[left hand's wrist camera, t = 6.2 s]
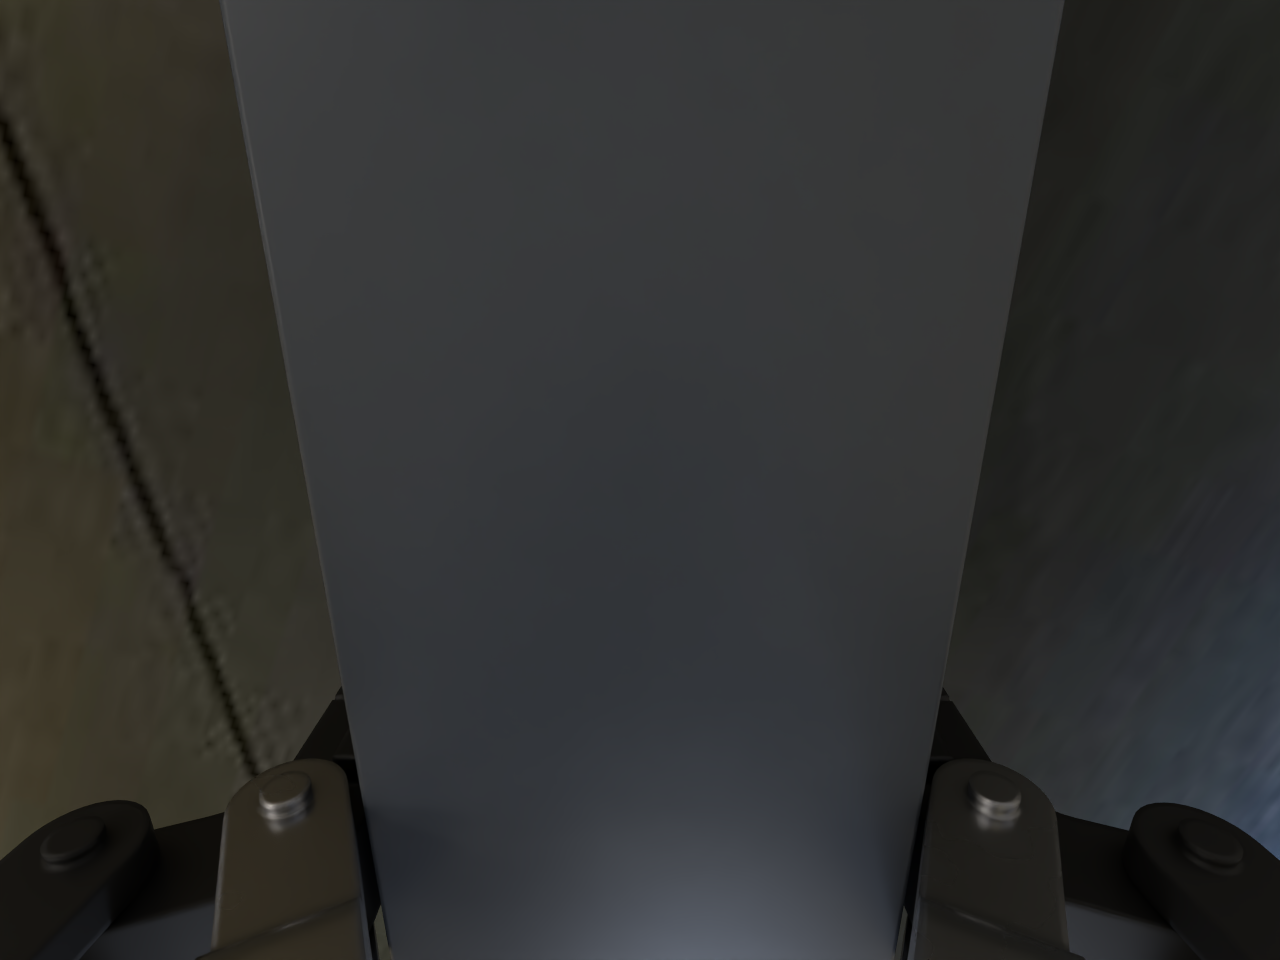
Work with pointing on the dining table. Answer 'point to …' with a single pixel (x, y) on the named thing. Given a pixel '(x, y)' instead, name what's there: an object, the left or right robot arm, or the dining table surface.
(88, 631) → the dining table surface
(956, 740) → the left robot arm
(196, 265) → the dining table surface
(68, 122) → the dining table surface
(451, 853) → the box
